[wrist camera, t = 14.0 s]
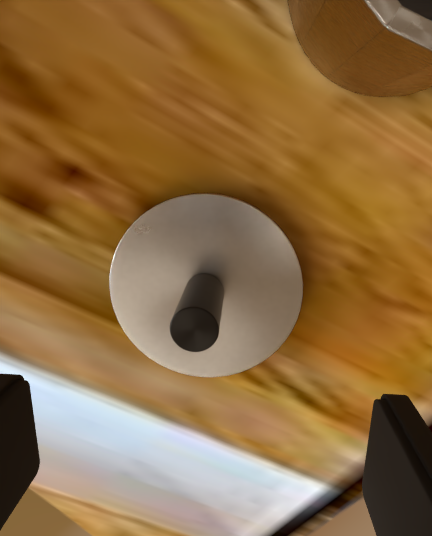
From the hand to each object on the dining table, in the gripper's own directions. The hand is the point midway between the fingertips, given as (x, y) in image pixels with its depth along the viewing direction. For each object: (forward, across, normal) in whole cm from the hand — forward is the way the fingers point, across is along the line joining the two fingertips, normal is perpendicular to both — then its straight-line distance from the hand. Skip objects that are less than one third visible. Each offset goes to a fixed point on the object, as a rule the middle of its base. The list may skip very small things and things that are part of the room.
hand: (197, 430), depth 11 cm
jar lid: (+16, +1, +2) cm, 16 cm away
